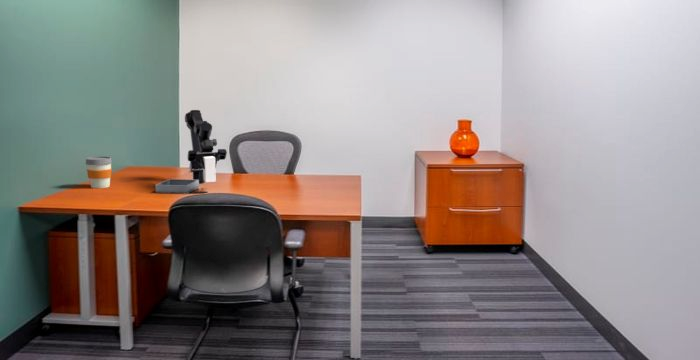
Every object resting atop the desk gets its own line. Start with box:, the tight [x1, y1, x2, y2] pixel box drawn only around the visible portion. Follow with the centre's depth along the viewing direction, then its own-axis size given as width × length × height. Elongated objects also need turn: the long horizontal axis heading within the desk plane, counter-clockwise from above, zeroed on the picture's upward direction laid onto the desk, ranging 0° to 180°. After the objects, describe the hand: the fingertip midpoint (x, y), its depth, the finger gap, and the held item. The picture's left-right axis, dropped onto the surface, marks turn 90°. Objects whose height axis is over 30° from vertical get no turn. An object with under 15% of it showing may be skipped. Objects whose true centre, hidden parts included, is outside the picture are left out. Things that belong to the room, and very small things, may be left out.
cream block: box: [203, 156, 217, 183], centre depth 304 cm, size 5×5×12 cm
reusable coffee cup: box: [85, 156, 113, 189], centre depth 317 cm, size 13×13×15 cm
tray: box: [154, 178, 200, 195], centre depth 311 cm, size 18×16×4 cm
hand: (209, 168), depth 302 cm, fingers closed on cream block, 5 cm apart
